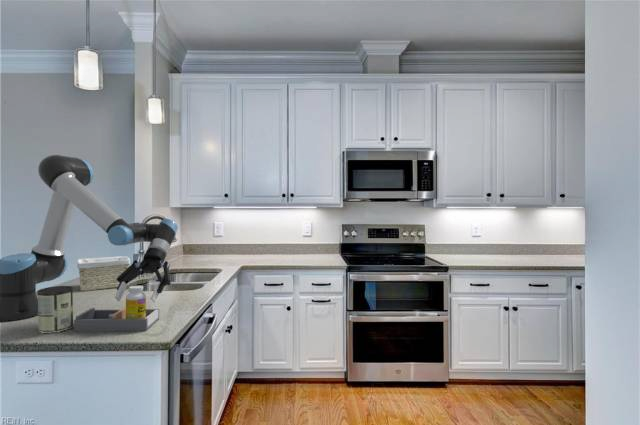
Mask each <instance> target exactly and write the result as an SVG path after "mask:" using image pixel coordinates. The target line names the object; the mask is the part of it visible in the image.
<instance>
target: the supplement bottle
mask: <svg viewBox="0 0 640 425" xmlns="http://www.w3.org/2000/svg"><path fill="white" fill-rule="evenodd" d="M143 290H144V286H143V285H131V286H129V287H128V292H129V293H128V294H127V295H126V296H125V307H126V319H141V318H146V309H147V295H146V293H145V292H144V291H143Z"/></svg>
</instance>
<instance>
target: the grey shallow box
mask: <svg viewBox="0 0 640 425" xmlns="http://www.w3.org/2000/svg"><path fill="white" fill-rule="evenodd" d="M121 309H122V308H121ZM121 309H116V308H115V309H96V308H95V307H91V308H89V309H87V310H86V311H83V312H81V313H80V314H78V315H75V319H73V328H74V329H73V331H81V332H82V333H84V332H85V333H90V332H94V333H95V332H97V333H98V332H140V331H141V332H142V331H143V332H144V331H145V332H146V331H148V330H149V329H150V328H152V327H153V325H155V324H157V322H158V321H159V320H160V309H159V308H146V318H141V319H109V314H114V313H116V312H118V311H119V310H121ZM81 332H80V333H81Z"/></svg>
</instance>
